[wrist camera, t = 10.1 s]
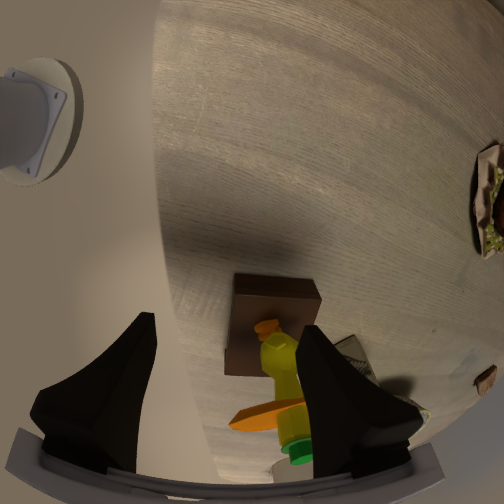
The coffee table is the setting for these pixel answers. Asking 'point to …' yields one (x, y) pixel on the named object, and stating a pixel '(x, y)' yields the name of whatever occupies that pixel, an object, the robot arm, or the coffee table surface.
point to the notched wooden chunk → (486, 381)
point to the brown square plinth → (266, 317)
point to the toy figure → (280, 396)
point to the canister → (291, 471)
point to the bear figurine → (490, 200)
